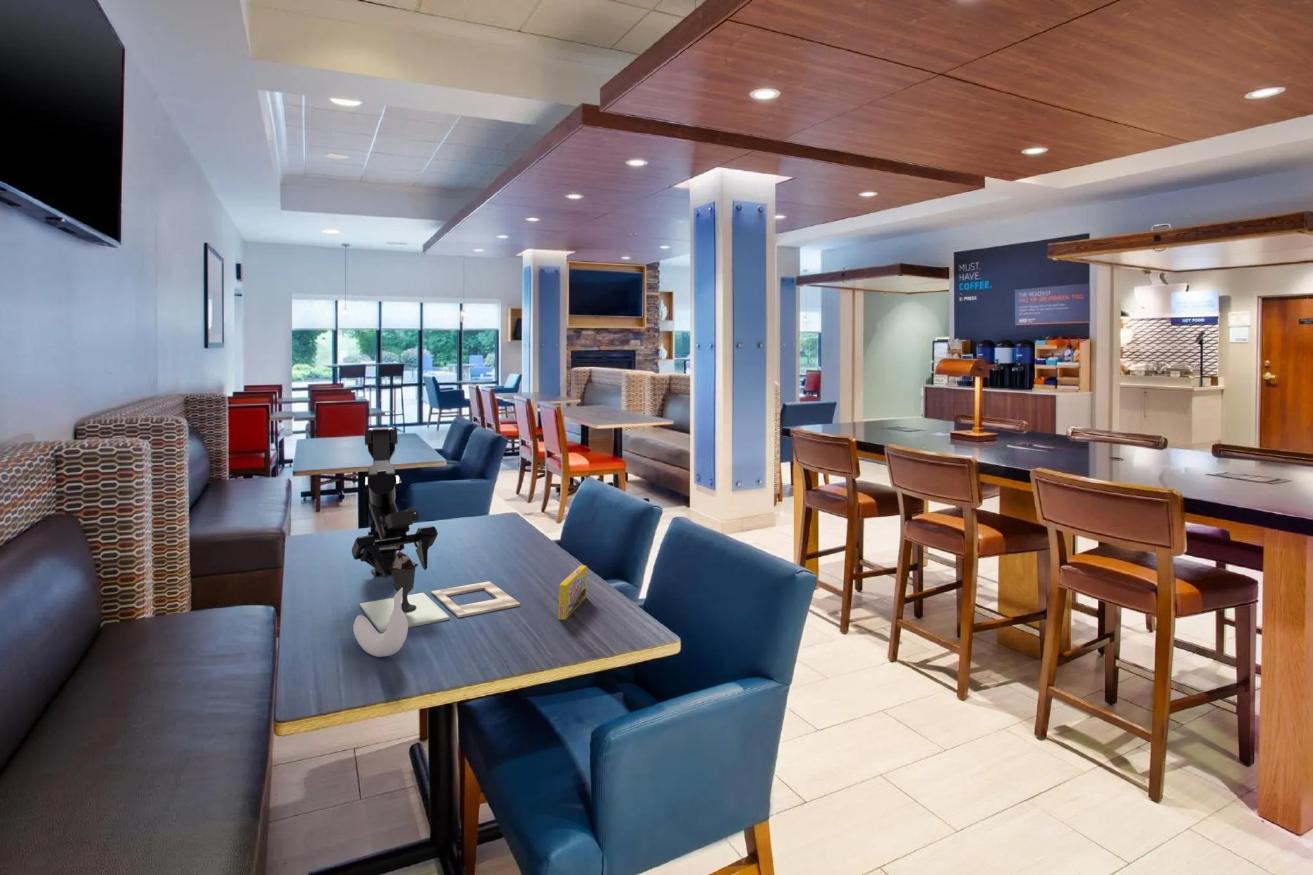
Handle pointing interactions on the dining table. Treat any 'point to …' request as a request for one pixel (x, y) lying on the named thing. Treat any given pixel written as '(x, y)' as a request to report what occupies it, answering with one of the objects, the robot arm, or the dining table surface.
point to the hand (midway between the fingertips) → (406, 572)
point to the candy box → (572, 592)
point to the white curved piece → (390, 638)
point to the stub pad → (419, 616)
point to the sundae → (403, 577)
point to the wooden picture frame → (498, 603)
